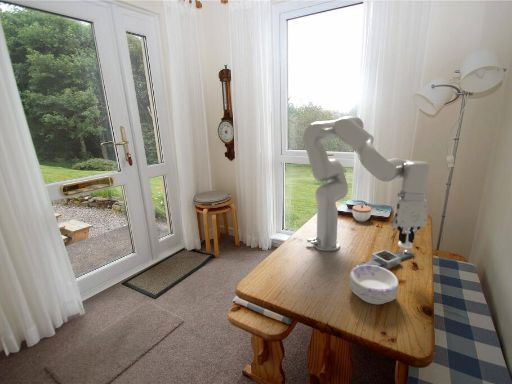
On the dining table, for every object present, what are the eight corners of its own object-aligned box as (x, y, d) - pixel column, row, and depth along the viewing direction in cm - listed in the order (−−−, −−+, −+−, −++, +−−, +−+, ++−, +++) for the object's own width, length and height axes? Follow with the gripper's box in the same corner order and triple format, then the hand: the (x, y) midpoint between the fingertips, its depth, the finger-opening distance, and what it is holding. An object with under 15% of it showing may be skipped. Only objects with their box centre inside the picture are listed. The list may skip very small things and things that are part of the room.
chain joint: (366, 276, 101) (366, 269, 100) (351, 266, 108) (352, 260, 108) (418, 257, 112) (418, 251, 111) (401, 249, 119) (402, 243, 119)
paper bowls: (375, 317, 81) (377, 296, 78) (340, 290, 94) (341, 271, 92) (406, 300, 87) (409, 280, 85) (369, 277, 100) (370, 259, 98)
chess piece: (407, 242, 100) (411, 218, 97) (415, 248, 95) (419, 223, 92) (395, 242, 100) (398, 218, 97) (402, 248, 95) (406, 224, 92)
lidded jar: (372, 223, 150) (373, 208, 147) (352, 222, 152) (353, 207, 150) (369, 216, 160) (370, 202, 157) (350, 216, 162) (351, 202, 160)
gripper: (396, 199, 88) (390, 247, 93) (441, 197, 89) (433, 245, 94) (385, 193, 95) (380, 238, 101) (427, 191, 96) (419, 236, 101)
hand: (405, 241), depth 97 cm, fingers closed on chess piece
